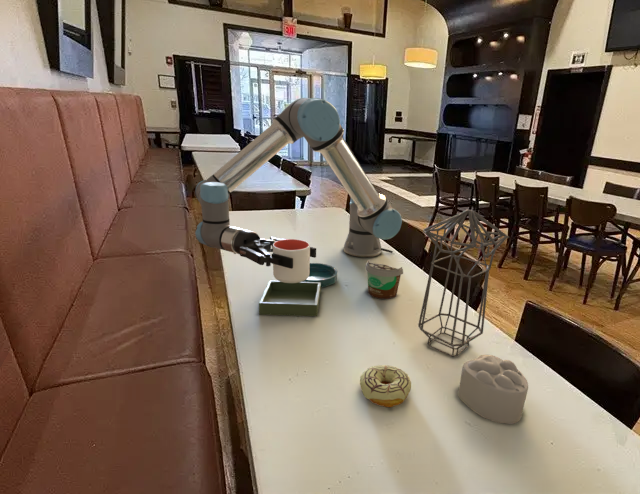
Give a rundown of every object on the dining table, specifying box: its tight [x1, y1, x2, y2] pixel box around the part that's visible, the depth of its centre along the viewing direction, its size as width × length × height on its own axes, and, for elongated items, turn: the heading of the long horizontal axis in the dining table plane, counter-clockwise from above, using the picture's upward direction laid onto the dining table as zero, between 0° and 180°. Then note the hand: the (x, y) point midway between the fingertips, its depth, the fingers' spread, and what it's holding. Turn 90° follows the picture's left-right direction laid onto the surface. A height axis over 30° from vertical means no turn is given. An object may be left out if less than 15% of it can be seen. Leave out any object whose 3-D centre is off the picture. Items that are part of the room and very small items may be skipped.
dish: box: [302, 262, 338, 288], centre depth 137 cm, size 15×15×3 cm
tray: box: [258, 280, 322, 317], centre depth 120 cm, size 16×16×4 cm
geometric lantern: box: [417, 209, 510, 358], centre depth 99 cm, size 16×16×35 cm
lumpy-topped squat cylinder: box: [457, 354, 529, 425], centre depth 84 cm, size 10×13×9 cm
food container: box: [364, 259, 404, 300], centre depth 128 cm, size 12×6×10 cm, turn 68°
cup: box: [272, 238, 311, 283], centre depth 116 cm, size 10×10×10 cm
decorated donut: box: [359, 364, 412, 408], centre depth 85 cm, size 10×11×4 cm
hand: (304, 258), depth 113 cm, fingers closed on cup, 10 cm apart
